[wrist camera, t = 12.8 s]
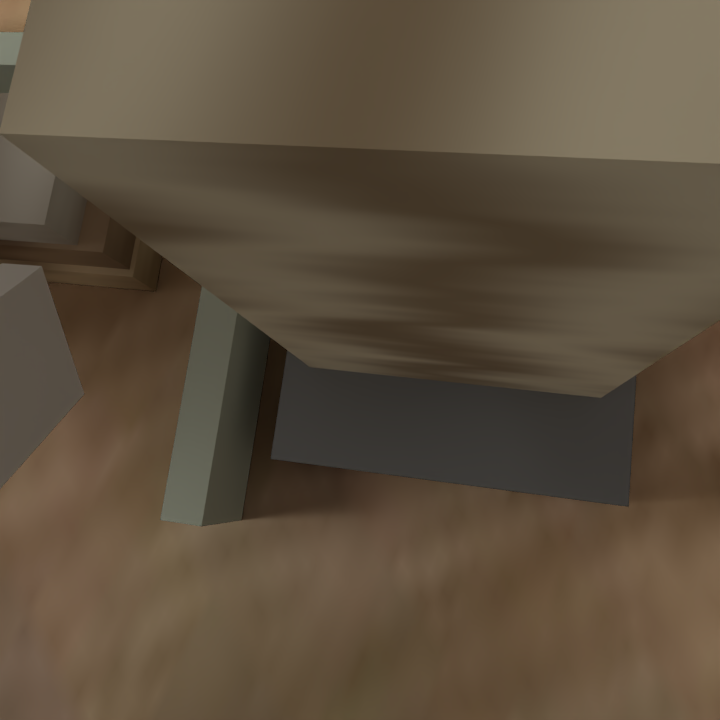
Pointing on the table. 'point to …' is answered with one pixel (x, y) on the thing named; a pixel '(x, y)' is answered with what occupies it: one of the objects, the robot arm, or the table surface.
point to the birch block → (404, 171)
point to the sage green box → (204, 397)
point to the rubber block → (458, 432)
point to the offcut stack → (65, 229)
